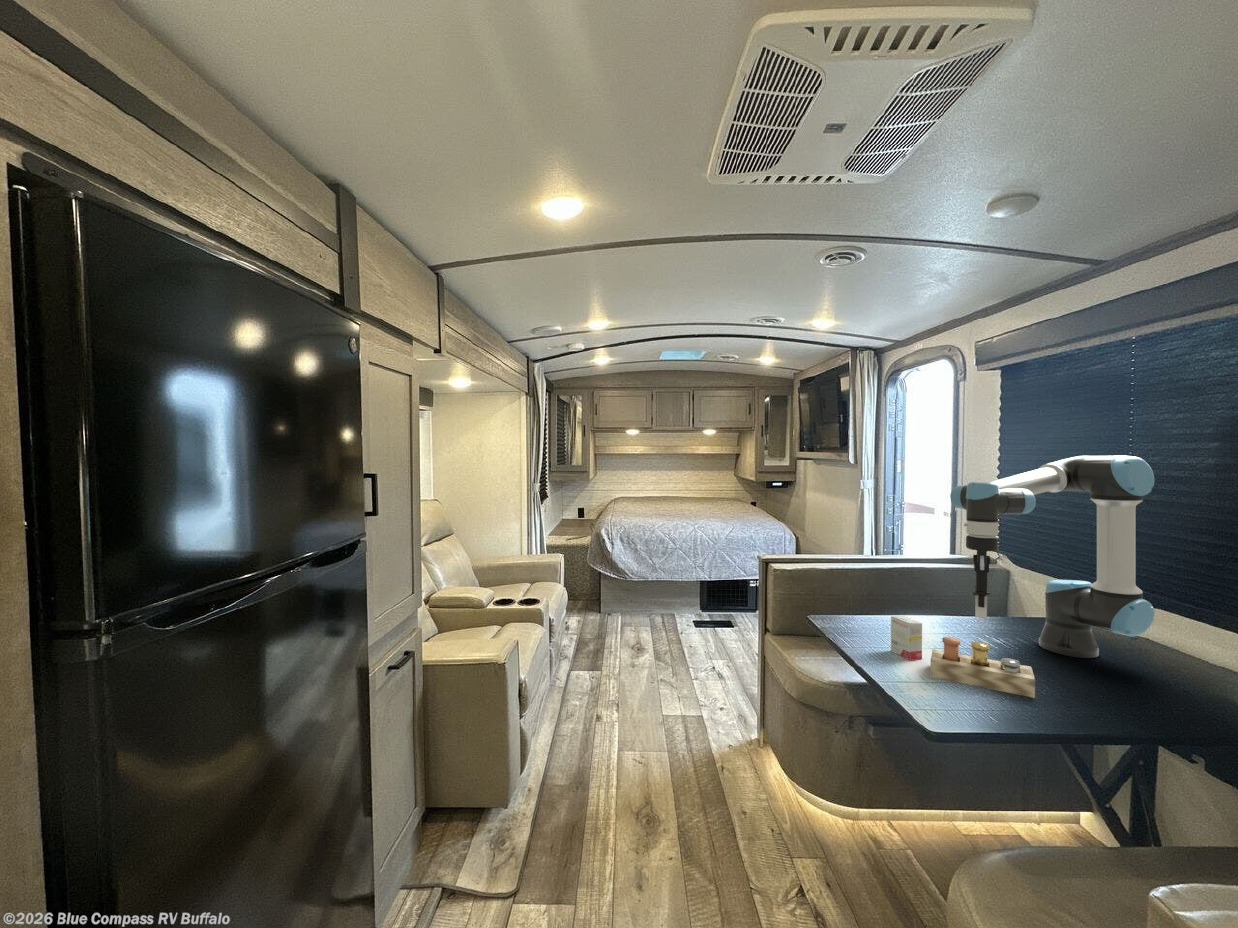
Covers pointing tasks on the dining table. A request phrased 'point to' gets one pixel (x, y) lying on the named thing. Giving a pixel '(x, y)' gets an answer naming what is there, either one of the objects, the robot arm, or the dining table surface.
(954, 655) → the plunger terracotta
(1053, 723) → the dining table surface
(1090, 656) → the robot arm
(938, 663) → the plunger block
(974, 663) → the plunger brass
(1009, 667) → the plunger grey
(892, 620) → the ink box
